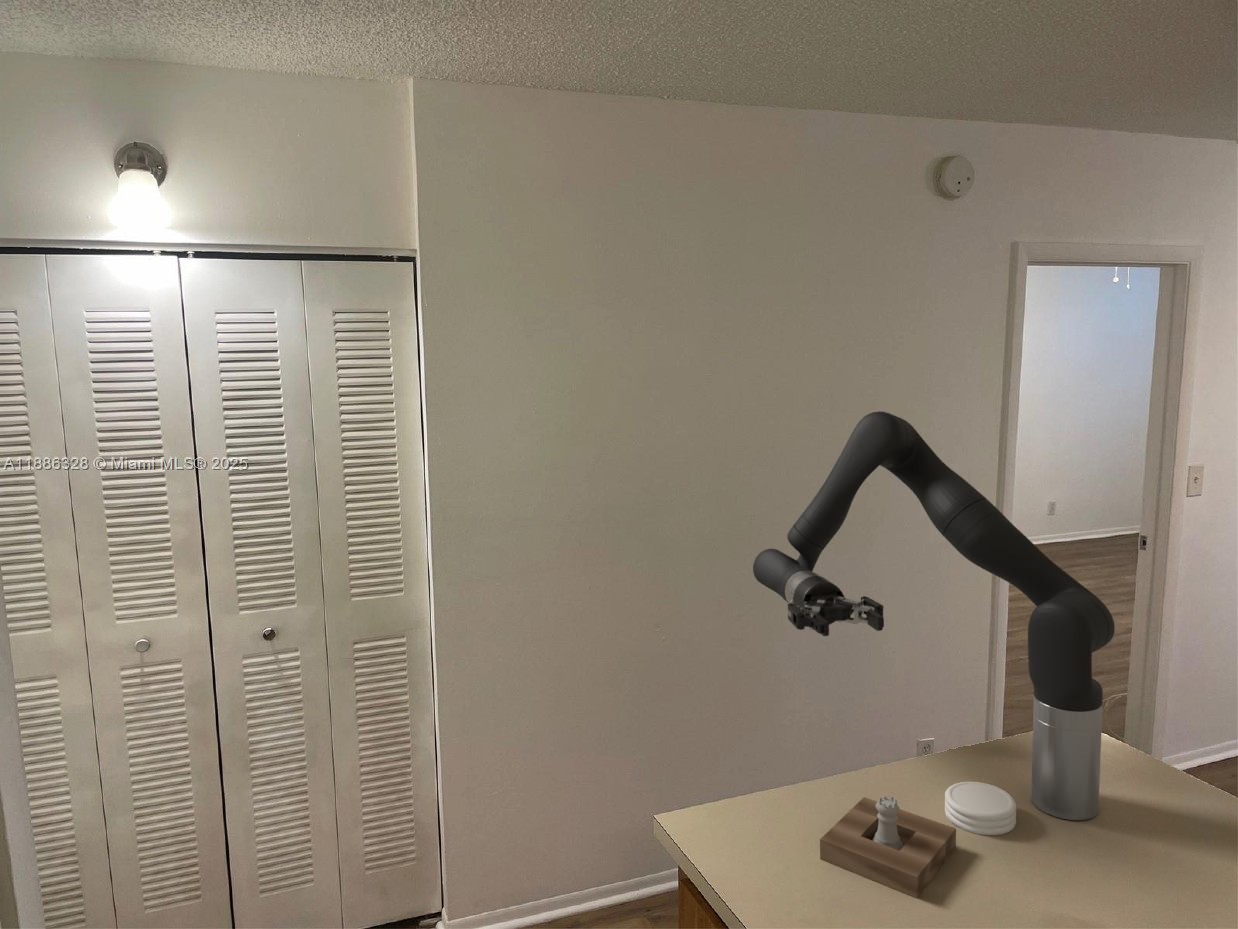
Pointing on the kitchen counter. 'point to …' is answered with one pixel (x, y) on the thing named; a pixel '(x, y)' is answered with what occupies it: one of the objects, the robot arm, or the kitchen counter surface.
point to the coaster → (980, 808)
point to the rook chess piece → (887, 823)
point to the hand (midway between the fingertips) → (853, 627)
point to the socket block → (889, 848)
